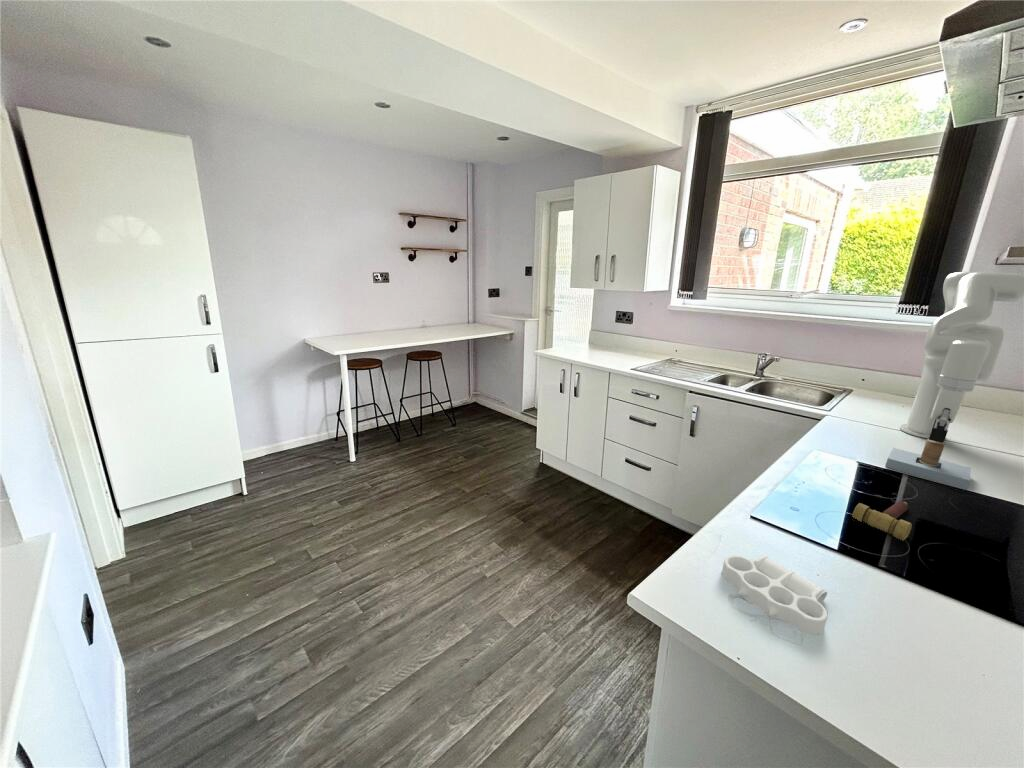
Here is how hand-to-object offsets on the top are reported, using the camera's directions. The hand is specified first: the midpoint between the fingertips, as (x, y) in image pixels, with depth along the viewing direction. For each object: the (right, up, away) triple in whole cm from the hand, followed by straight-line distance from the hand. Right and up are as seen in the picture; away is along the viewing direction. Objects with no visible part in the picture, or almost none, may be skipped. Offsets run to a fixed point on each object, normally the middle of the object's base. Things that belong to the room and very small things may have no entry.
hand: (937, 436), depth 128 cm
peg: (-1, -11, +3) cm, 12 cm away
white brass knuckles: (-79, -25, -47) cm, 96 cm away
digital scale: (-1, -11, +3) cm, 12 cm away
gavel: (-34, -18, -22) cm, 44 cm away
